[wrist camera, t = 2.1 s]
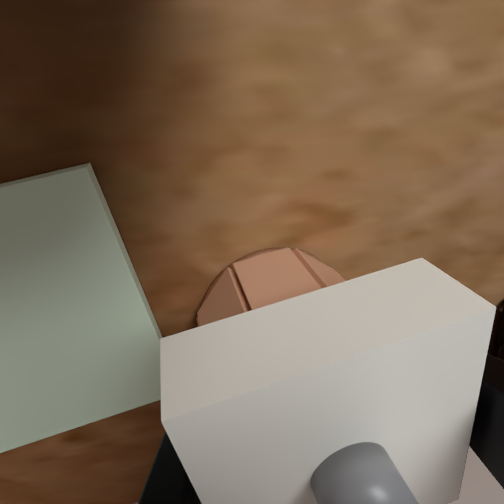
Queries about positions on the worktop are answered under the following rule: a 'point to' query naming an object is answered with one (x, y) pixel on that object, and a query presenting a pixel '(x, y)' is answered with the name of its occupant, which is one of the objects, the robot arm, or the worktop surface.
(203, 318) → the bowl
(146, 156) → the worktop surface
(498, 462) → the robot arm
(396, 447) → the cover
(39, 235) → the mat
